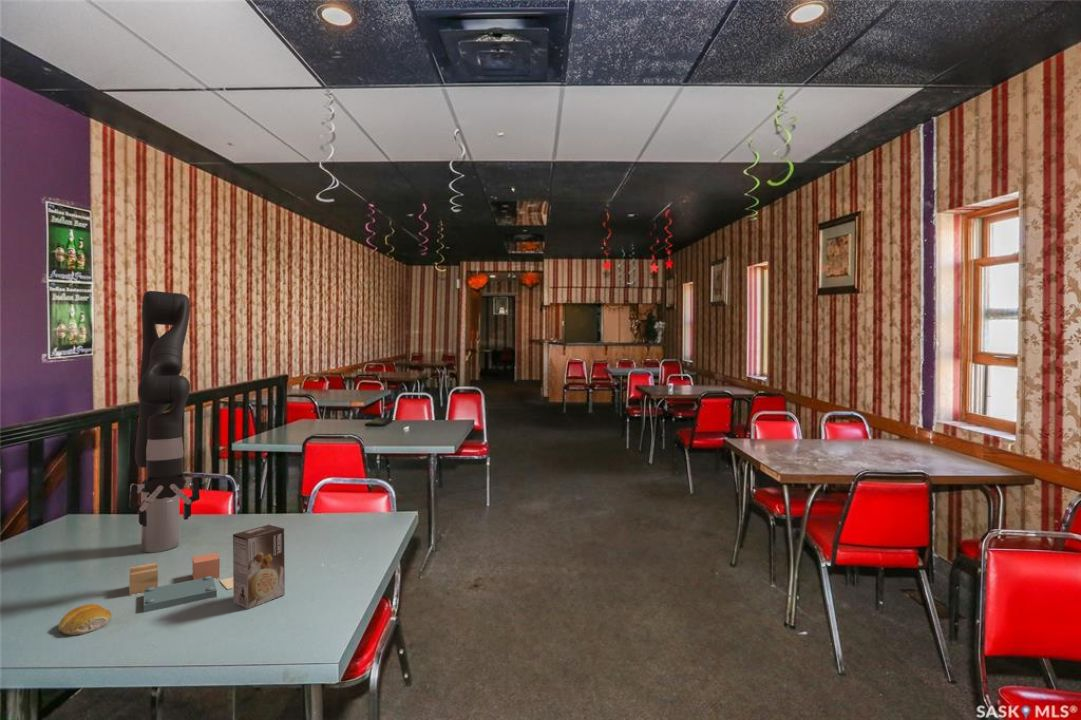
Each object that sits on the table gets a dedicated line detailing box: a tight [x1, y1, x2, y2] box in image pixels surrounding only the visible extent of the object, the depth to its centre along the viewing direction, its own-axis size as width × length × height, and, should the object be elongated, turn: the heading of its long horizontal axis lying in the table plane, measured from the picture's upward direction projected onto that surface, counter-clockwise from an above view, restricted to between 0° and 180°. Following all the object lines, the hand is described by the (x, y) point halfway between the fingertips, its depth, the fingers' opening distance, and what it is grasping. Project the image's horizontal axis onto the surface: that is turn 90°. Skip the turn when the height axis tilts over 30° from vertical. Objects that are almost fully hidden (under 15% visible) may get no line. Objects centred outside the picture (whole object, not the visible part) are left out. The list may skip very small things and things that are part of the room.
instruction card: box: [219, 576, 233, 591], centre depth 141 cm, size 7×10×1 cm
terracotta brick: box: [192, 552, 221, 580], centre depth 142 cm, size 6×6×5 cm
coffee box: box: [232, 524, 286, 610], centre depth 130 cm, size 9×6×16 cm
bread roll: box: [58, 603, 113, 636], centre depth 117 cm, size 8×9×4 cm
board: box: [143, 576, 218, 613], centre depth 131 cm, size 10×14×2 cm
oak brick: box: [128, 562, 159, 596], centre depth 135 cm, size 6×6×5 cm
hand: (165, 522), depth 136 cm, fingers open, 8 cm apart
